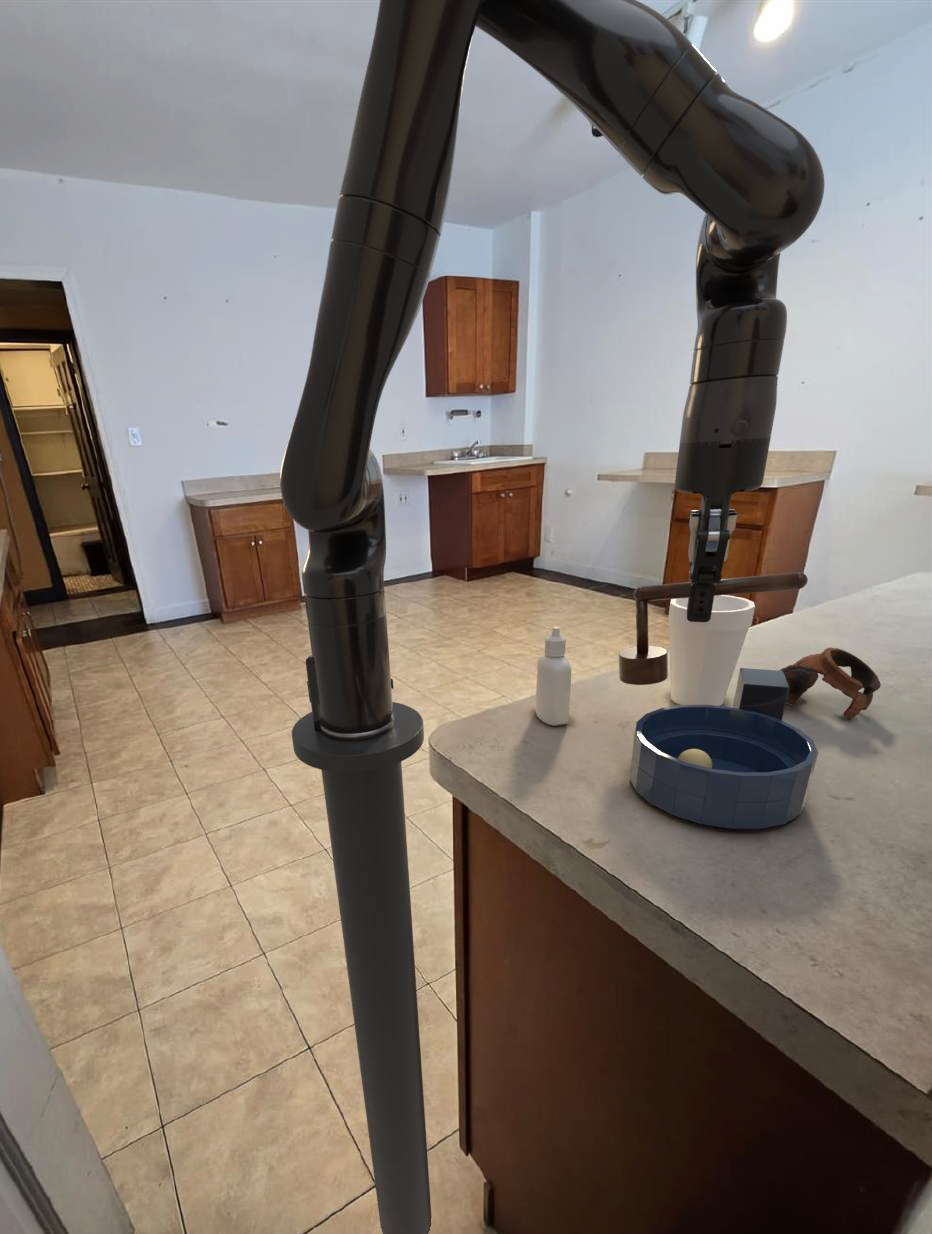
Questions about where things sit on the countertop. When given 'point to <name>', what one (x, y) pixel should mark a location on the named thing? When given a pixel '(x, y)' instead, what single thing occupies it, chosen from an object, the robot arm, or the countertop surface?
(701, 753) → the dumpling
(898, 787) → the countertop surface
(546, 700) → the eye dropper bottle
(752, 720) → the bowl
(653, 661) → the ladle
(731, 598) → the foam cup
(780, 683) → the dark navy cube
